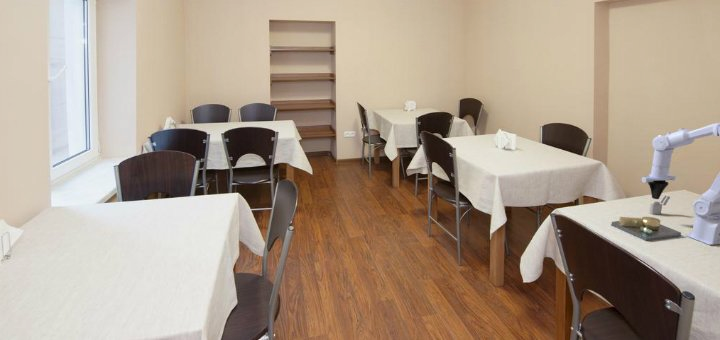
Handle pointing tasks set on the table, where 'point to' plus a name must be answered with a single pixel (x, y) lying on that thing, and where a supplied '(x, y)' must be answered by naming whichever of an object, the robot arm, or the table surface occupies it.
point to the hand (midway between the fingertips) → (655, 198)
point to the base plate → (648, 237)
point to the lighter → (658, 205)
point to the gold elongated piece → (640, 222)
